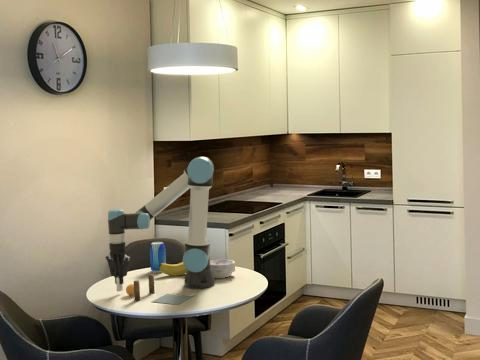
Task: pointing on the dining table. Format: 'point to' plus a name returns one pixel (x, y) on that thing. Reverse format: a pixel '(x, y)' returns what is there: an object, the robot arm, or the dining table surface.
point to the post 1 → (136, 291)
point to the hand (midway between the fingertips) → (119, 290)
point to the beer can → (157, 256)
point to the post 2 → (151, 283)
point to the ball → (130, 289)
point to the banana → (173, 269)
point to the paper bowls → (222, 268)
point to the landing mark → (172, 299)
